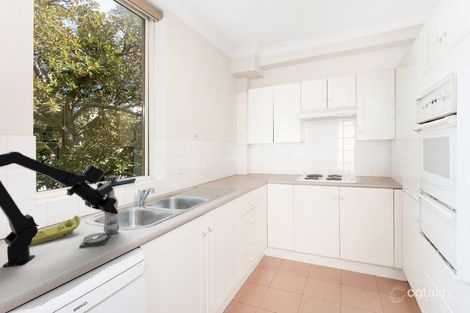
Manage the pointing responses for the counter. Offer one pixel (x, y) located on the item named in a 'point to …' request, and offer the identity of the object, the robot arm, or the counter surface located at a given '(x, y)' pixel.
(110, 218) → the plastic bottle
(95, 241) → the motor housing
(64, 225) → the plastic component
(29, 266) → the counter surface
